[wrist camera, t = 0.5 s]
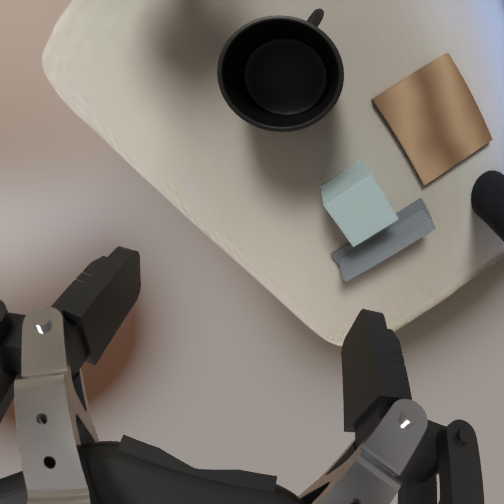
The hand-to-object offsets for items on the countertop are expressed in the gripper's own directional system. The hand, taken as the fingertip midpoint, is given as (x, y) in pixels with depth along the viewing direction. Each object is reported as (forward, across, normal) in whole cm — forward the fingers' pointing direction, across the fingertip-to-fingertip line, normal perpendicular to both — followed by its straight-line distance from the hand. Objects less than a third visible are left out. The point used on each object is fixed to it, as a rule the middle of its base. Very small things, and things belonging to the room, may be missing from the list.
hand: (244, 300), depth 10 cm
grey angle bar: (+24, -14, +7) cm, 29 cm away
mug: (+25, +1, -9) cm, 26 cm away
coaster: (+24, -15, -9) cm, 30 cm away
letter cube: (+24, -8, +3) cm, 26 cm away
